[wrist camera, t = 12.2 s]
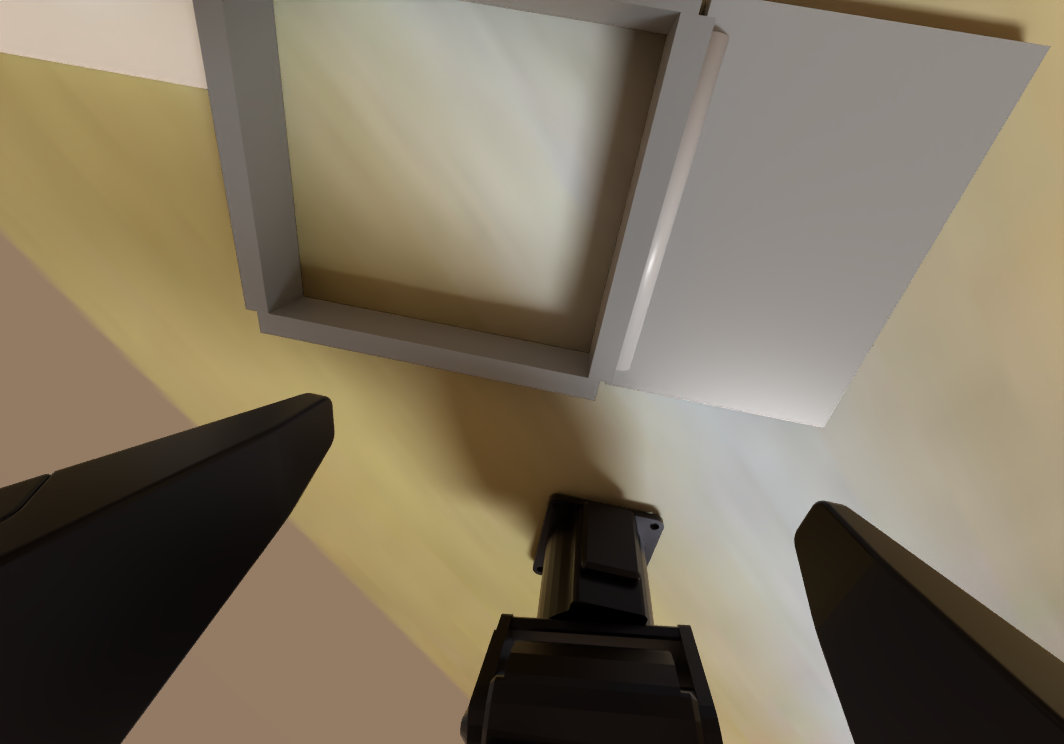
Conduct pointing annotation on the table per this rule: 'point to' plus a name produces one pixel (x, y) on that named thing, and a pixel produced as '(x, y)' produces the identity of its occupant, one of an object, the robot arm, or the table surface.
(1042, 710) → the robot arm
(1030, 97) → the table surface
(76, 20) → the pale beige square mat
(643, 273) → the grey piece
